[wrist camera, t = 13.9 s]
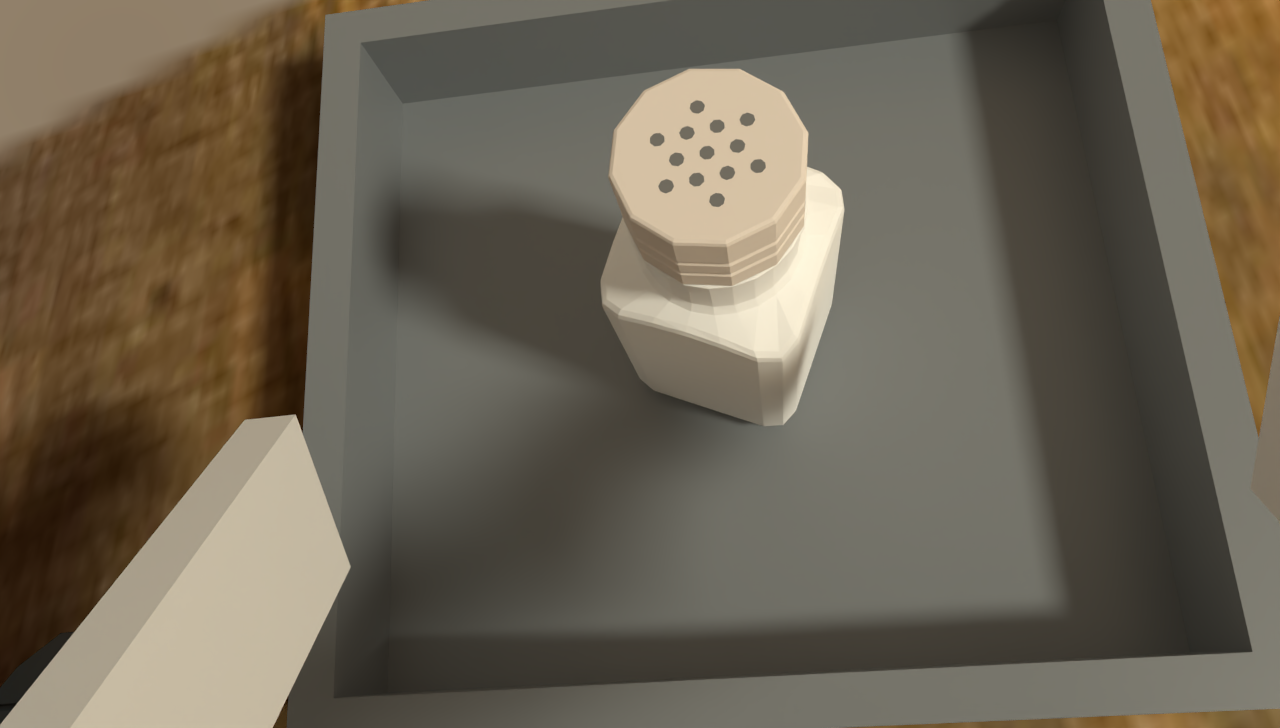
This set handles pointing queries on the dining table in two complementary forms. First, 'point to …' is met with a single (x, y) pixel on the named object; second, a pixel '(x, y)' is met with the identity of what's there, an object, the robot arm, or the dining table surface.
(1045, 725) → the dining table surface
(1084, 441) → the box
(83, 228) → the dining table surface
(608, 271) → the pepper shaker
